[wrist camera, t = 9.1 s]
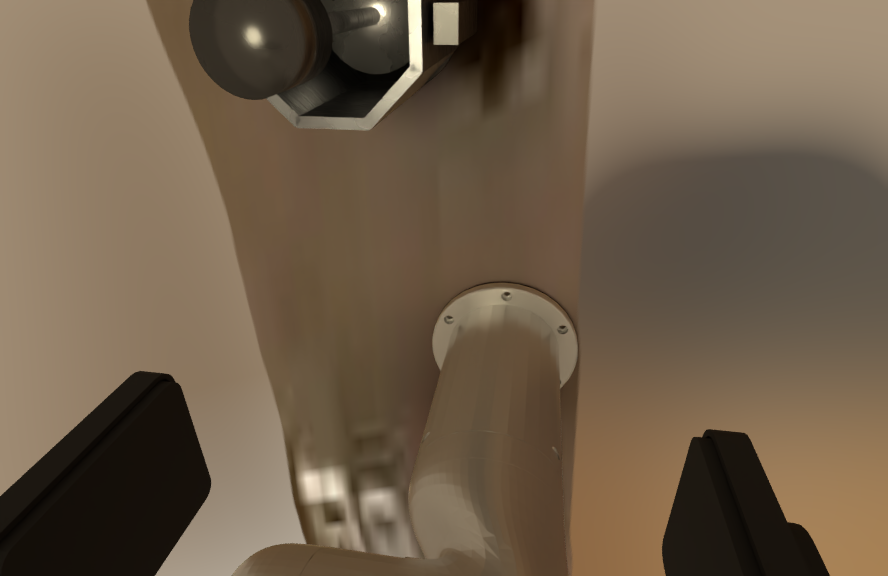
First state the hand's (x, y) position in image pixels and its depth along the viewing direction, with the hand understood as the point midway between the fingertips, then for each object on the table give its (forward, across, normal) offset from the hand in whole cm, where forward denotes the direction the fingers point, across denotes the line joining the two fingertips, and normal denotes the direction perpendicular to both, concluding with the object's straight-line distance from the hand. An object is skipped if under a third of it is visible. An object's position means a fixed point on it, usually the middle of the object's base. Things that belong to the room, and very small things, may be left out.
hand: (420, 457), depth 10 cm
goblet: (+29, +9, -6) cm, 31 cm away
